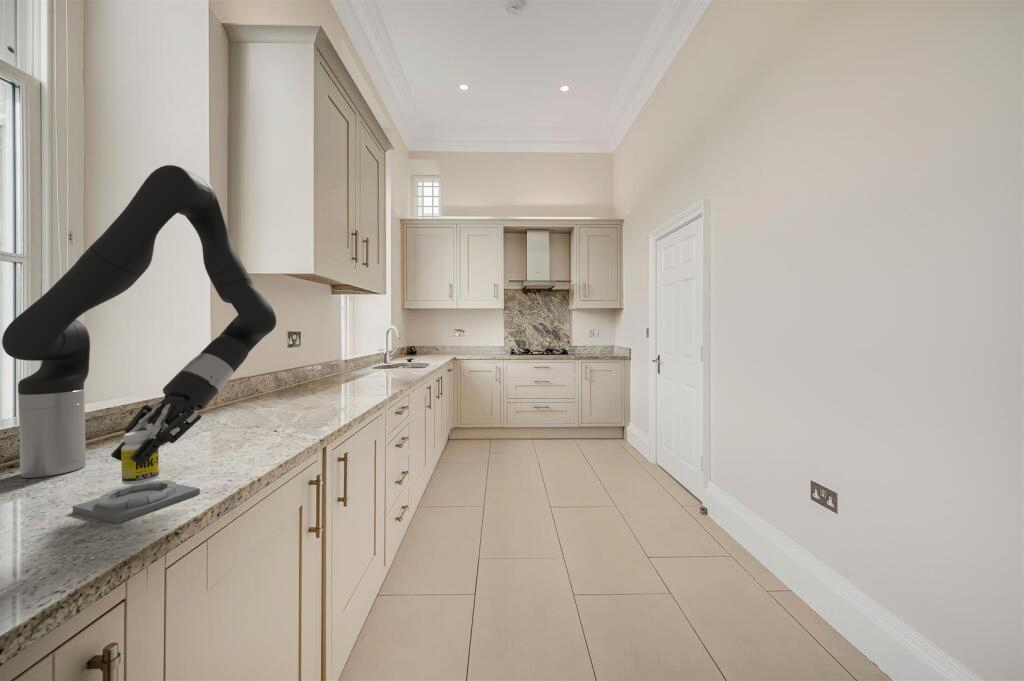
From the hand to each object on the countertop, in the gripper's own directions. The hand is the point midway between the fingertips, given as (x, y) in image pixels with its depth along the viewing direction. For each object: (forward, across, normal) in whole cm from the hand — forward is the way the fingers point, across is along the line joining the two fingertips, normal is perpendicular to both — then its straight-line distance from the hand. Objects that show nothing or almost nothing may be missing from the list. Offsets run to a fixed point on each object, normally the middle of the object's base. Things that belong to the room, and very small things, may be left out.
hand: (126, 460), depth 67 cm
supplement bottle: (+2, 0, +4) cm, 5 cm away
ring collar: (+5, 0, +7) cm, 8 cm away
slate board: (+5, 0, +7) cm, 8 cm away
